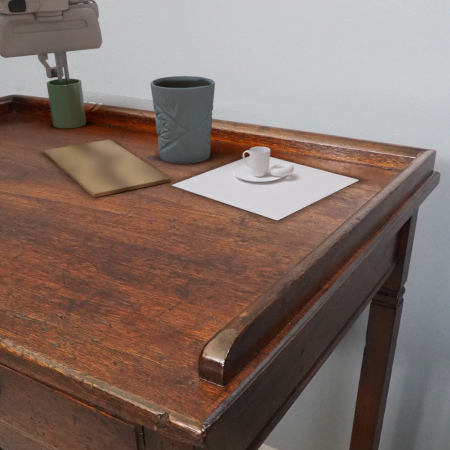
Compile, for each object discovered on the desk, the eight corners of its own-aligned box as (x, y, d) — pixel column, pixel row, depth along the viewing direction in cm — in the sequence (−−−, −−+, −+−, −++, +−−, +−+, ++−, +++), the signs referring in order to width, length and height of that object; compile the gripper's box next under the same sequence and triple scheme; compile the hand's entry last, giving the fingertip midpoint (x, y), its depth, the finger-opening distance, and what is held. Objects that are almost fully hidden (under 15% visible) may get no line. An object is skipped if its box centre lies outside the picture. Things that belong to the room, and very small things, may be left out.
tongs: (65, 122, 120) (55, 52, 114) (63, 121, 121) (53, 51, 115) (75, 121, 121) (65, 51, 115) (73, 120, 122) (63, 50, 115)
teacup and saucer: (300, 175, 95) (302, 149, 92) (268, 189, 90) (268, 162, 87) (256, 163, 100) (256, 138, 98) (223, 176, 95) (223, 150, 92)
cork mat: (94, 197, 88) (93, 193, 87) (44, 153, 105) (43, 150, 105) (169, 182, 93) (169, 178, 93) (110, 142, 111) (109, 139, 110)
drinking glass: (143, 159, 102) (137, 84, 96) (176, 143, 110) (173, 72, 104) (196, 168, 98) (193, 90, 92) (226, 151, 105) (226, 78, 99)
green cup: (59, 130, 118) (52, 86, 114) (49, 122, 123) (42, 80, 118) (91, 125, 121) (85, 82, 116) (80, 118, 125) (74, 77, 121)
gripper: (91, -5, 121) (99, 68, 129) (-16, 1, 113) (-1, 80, 120) (102, -3, 117) (110, 73, 124) (-8, 4, 108) (8, 86, 115)
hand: (55, 77), depth 122 cm, fingers closed
